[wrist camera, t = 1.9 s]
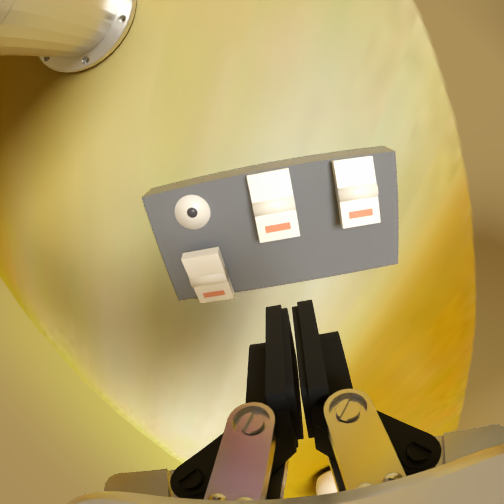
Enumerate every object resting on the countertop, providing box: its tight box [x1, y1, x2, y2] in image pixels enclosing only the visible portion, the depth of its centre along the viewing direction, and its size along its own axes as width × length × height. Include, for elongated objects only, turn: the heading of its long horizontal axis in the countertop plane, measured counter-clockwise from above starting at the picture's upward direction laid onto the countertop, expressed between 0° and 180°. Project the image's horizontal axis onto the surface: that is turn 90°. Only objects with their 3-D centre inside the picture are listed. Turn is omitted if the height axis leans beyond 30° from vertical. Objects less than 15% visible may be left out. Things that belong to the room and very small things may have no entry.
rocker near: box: [331, 156, 381, 229], centre depth 26 cm, size 6×4×2 cm, turn 12°
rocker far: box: [181, 247, 234, 303], centre depth 31 cm, size 6×4×2 cm, turn 12°
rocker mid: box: [247, 168, 300, 243], centre depth 27 cm, size 6×4×2 cm, turn 12°
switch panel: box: [142, 146, 398, 300], centre depth 31 cm, size 12×24×3 cm, turn 102°
